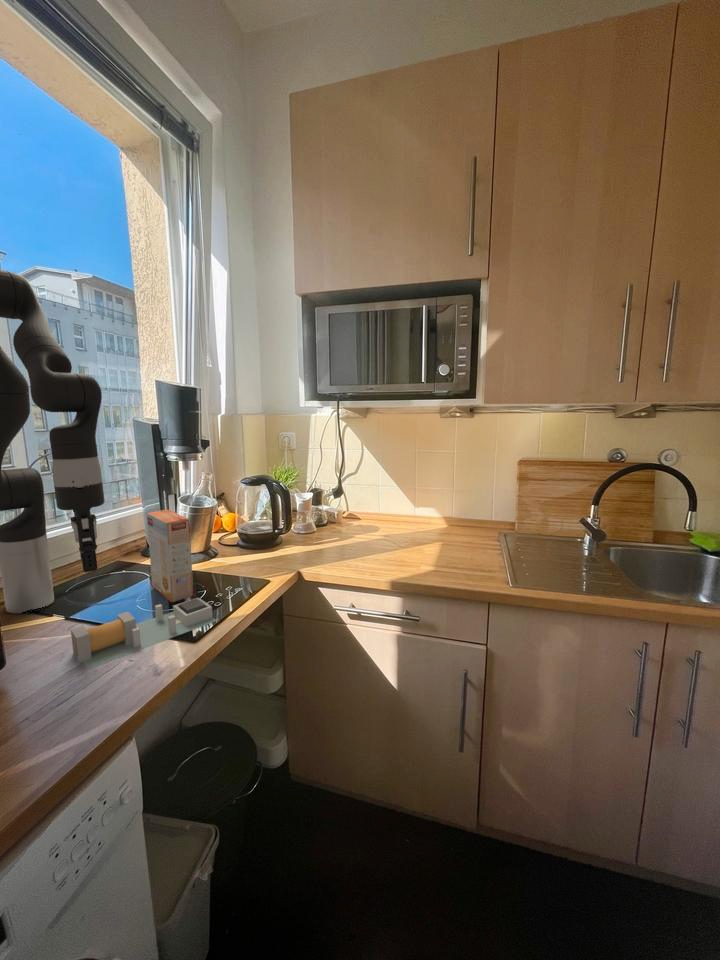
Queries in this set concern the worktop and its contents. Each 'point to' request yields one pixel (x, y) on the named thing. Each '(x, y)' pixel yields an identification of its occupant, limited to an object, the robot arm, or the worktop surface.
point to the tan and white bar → (102, 636)
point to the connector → (192, 606)
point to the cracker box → (170, 554)
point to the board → (154, 632)
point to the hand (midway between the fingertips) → (89, 564)
